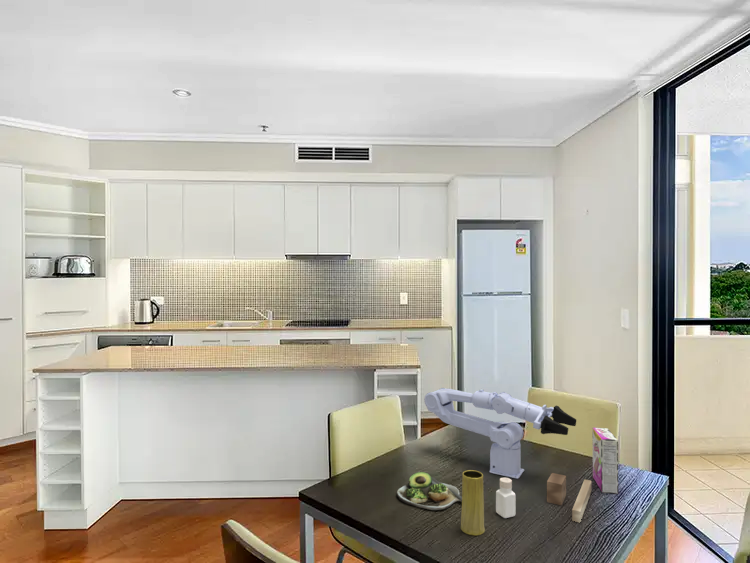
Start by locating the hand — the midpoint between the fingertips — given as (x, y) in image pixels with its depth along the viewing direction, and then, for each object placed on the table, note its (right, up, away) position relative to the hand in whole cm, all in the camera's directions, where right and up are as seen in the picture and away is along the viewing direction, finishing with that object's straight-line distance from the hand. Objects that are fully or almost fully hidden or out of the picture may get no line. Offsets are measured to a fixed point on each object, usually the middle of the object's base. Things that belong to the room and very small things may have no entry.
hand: (571, 427), depth 142 cm
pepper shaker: (-24, -19, -15) cm, 34 cm away
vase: (-35, -20, -22) cm, 46 cm away
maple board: (-1, -19, -9) cm, 21 cm away
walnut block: (-7, -19, -6) cm, 21 cm away
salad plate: (-44, -20, -3) cm, 49 cm away
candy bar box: (+11, -19, +3) cm, 23 cm away
